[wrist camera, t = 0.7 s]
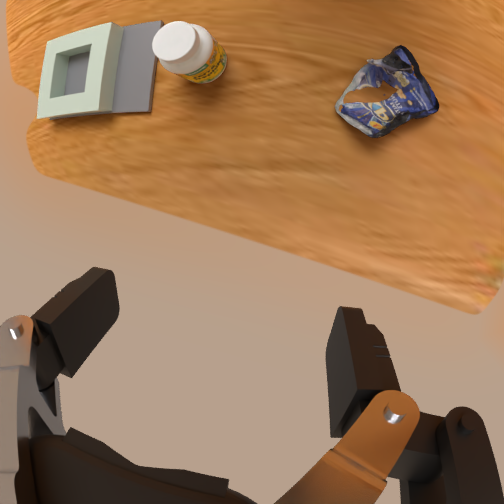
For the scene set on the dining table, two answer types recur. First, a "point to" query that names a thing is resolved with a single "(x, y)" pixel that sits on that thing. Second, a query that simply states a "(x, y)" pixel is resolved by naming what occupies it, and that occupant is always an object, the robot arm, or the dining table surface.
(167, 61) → the supplement bottle
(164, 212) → the dining table surface
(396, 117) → the snack package
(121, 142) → the dining table surface
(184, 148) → the dining table surface
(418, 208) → the dining table surface
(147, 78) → the socket board
